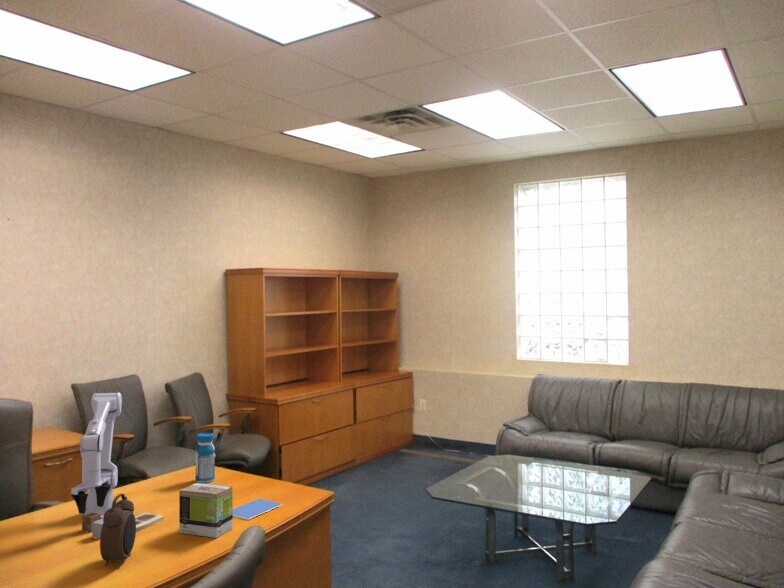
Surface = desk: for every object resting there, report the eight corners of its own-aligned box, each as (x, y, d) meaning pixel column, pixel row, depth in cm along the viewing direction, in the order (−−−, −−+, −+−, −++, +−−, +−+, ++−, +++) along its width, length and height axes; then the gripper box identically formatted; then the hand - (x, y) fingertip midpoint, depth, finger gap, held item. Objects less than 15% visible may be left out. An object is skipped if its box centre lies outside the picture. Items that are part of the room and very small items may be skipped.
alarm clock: (123, 572, 181) (123, 502, 181) (97, 572, 180) (97, 503, 180) (139, 551, 195) (140, 487, 195) (115, 552, 195) (116, 488, 195)
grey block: (92, 537, 206) (92, 522, 206) (102, 533, 210) (102, 518, 210) (101, 539, 205) (101, 524, 205) (111, 535, 209) (111, 520, 209)
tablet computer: (259, 501, 245) (259, 497, 245) (284, 506, 239) (284, 503, 239) (223, 516, 228) (223, 512, 228) (248, 522, 222) (248, 518, 222)
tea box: (233, 528, 215) (233, 485, 215) (216, 539, 205) (216, 494, 205) (196, 523, 220) (196, 481, 220) (178, 533, 210) (178, 489, 210)
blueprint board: (111, 528, 214) (111, 525, 214) (141, 515, 227) (141, 512, 227) (134, 533, 210) (134, 529, 210) (163, 519, 223) (163, 515, 223)
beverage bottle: (204, 484, 264) (204, 437, 265) (190, 481, 269) (190, 435, 269) (219, 479, 272) (219, 433, 272) (205, 476, 276) (205, 431, 276)
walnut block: (82, 530, 212) (82, 516, 212) (91, 526, 216) (91, 512, 216) (90, 532, 211) (90, 517, 211) (100, 528, 214) (100, 514, 214)
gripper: (82, 476, 205) (82, 518, 205) (117, 465, 219) (116, 504, 218) (66, 474, 208) (66, 515, 208) (101, 463, 221) (101, 502, 221)
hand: (91, 509), depth 213 cm, fingers open, 7 cm apart
